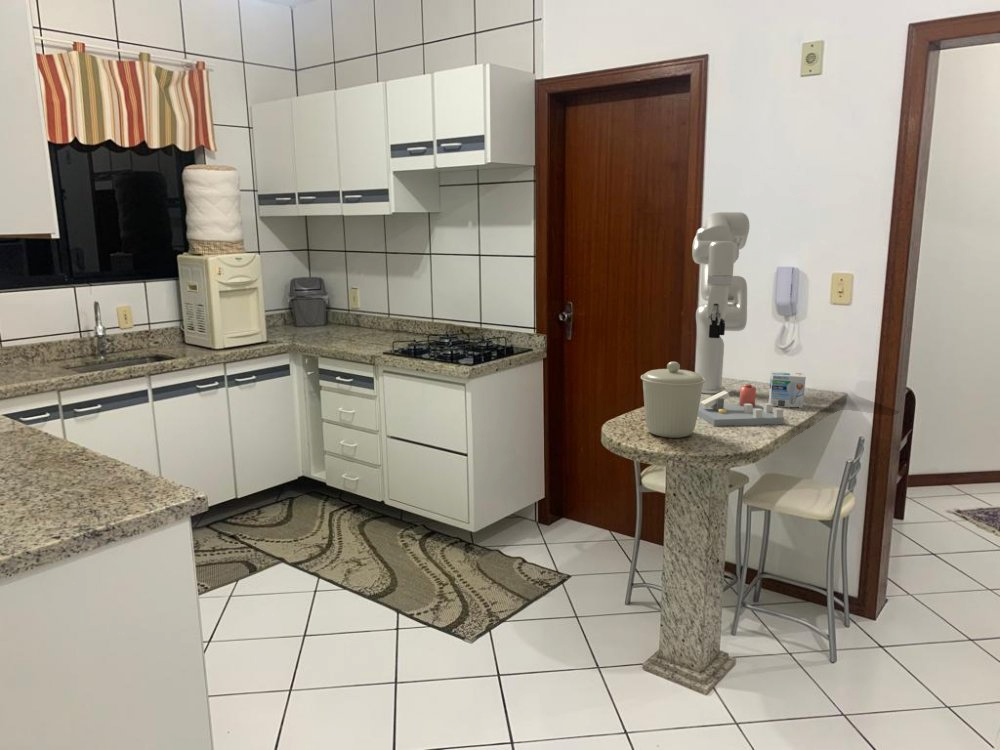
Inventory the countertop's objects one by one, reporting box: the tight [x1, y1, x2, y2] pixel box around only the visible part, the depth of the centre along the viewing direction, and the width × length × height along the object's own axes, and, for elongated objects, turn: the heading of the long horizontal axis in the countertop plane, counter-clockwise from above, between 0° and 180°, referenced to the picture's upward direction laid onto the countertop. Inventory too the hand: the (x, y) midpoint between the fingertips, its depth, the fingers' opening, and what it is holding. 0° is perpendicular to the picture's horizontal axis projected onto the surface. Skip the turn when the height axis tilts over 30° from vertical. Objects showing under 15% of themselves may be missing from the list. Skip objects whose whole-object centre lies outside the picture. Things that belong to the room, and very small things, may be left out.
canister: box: [640, 361, 706, 439], centre depth 219 cm, size 18×18×21 cm
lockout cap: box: [738, 383, 757, 407], centre depth 247 cm, size 5×5×7 cm
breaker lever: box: [700, 387, 735, 409], centre depth 242 cm, size 4×10×2 cm, turn 98°
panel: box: [697, 394, 785, 427], centre depth 240 cm, size 19×22×6 cm
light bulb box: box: [767, 371, 807, 409], centre depth 256 cm, size 11×7×11 cm, turn 76°
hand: (716, 336), depth 241 cm, fingers open, 9 cm apart
